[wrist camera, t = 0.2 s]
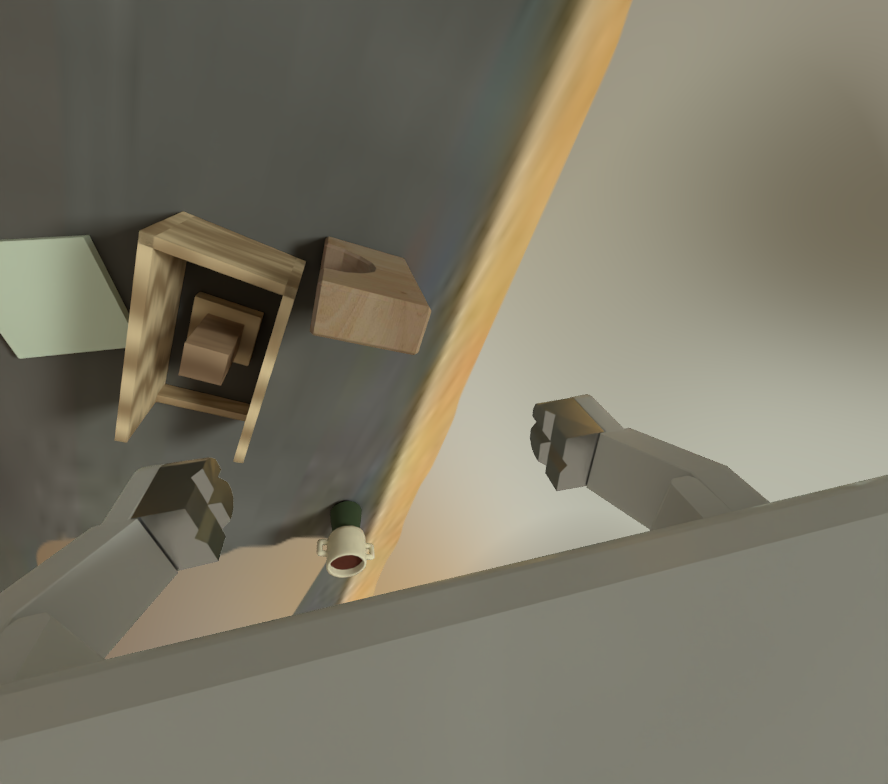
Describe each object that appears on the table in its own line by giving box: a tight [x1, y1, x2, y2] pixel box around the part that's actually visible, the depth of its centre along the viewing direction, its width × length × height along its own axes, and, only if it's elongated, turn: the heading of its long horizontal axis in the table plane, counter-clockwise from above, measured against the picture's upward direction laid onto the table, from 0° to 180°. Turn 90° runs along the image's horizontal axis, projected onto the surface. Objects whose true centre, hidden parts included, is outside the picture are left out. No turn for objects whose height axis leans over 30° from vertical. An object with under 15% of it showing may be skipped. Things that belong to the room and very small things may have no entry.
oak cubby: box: [115, 211, 306, 463], centre depth 49 cm, size 26×14×12 cm, turn 153°
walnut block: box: [179, 313, 245, 386], centre depth 48 cm, size 4×4×9 cm
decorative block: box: [310, 237, 431, 355], centre depth 45 cm, size 11×6×20 cm, turn 70°
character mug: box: [317, 501, 375, 578], centre depth 73 cm, size 11×7×13 cm, turn 64°
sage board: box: [0, 235, 129, 359], centre depth 46 cm, size 14×14×1 cm
